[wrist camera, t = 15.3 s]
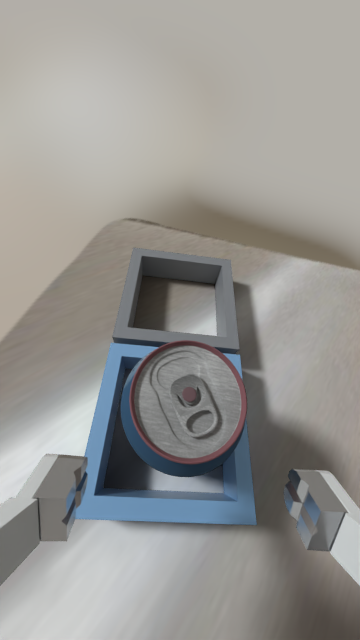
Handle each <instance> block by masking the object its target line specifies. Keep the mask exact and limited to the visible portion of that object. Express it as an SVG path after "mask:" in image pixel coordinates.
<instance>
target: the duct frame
mask: <svg viewBox="0 0 360 640" xmlns="http://www.w3.org/2000/svg"><path fill="white" fill-rule="evenodd" d="M143 275H144V276H153V277H161V278H170V279H178V280H187V281H195V282H204V283H212V284H215V298H216V321H217V336H210V335H200V334H190V333H180V332H170V331H160V330H150V329H140V328H133V324H134V319H135V313H136V308H137V303H138V297H139V292H140V286H141V281H142V276H143ZM112 337H113V340H114V343H111V345H110V349H109V354H108V358H107V362H106V366H105V371H104V375H103V379H102V383H101V388H100V392H99V396H98V400H97V405H96V409H95V413H94V417H93V422H92V426H91V430H90V434H89V439H88V443H87V447H86V452H85V456H84V457H87V458H88V465H87V468H86V470H85V471H86V473H87V474H88V479H87V486H86V490H85V494H84V497H83V500H82V503H81V505H80V506H79V507H78V508H76V519H93V520H122V521H152V522H181V523H210V524H240V525H257V523H256V513H255V503H254V492H253V482H252V472H251V462H250V452H249V442H248V431H247V421H246V419H245V426H244V430H243V433H242V436H241V439H240V441H239V443H238V445H237V447H236V448H235V450H234V451H233V453H232V454H231V455H230V456H229V458H228V459H227V460H226V461H225V462H223V486H224V493H203V492H181V491H159V490H137V489H114V488H103V486H104V481H105V475H106V470H107V465H108V459H109V454H110V448H111V443H112V438H113V432H114V427H115V421H116V416H117V411H118V405H119V400H120V394H121V389H122V384H123V378H124V373H125V368H127V369H133V368H134V367H135V366H136V364H137V363H138V362H139V361H140V360H141V359H142V358H143V357H144V356H146V355H147V354H148V353H150V352H151V351H153V350H155V349H157V348H159V347H160V346H162V345H165V344H167V343H170V342H174V341H181V340H191V341H197V342H201V343H205V344H207V345H210V346H212V347H214V348H215V349H217V350H219V351H220V352H221V353H223V354H224V355H225V356H226V357H227V358H228V359H229V360H230V361H231V362H232V363H233V365H234V366H235V368H236V369H237V371H238V372H239V374H240V376H241V378H242V370H241V360H240V355H236V353H237V351H238V350H239V340H238V330H237V319H236V309H235V299H234V289H233V279H232V268H231V260H227V259H219V258H211V257H203V256H195V255H187V254H180V253H172V252H164V251H156V250H148V249H140V248H133V251H132V256H131V260H130V264H129V268H128V273H127V277H126V281H125V285H124V290H123V294H122V298H121V302H120V307H119V311H118V315H117V319H116V324H115V328H114V332H113V336H112ZM242 381H243V380H242Z"/></svg>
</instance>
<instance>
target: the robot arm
mask: <svg viewBox="0 0 360 640" xmlns="http://www.w3.org/2000/svg"><path fill="white" fill-rule="evenodd" d="M87 465H88V458H87V457H82V456H71V455H57V454H46V455H45V456H44V457H42V459H41V460H40V462H39V463H38V465H37V466H36V468H35V469H34V471H33V472H32V474H31V475H30V477H29V478H28V480H27V481H26V483H25V484H24V486H23V487H22V489H21V490H20V492H19V493H18V495H17V496H16V498H15V497H11V498H9V499H8V500H7V501H5V502H4V503H2V504H1V505H0V586H1V585H2V583H3V582H4V581H5V580H6V579H7V578H8V577H9V576H10V575H11V574H12V573H13V572H14V570H15V569H16V568H17V567H18V566H19V565H20V564H21V563H22V562H23V561H24V560H25V559H26V558H27V556H28V555H29V554H30V553H31V552H32V551H33V550H34V549H35V548H36V547H37V546H38V545H39V543H40V541H67V539H68V537H69V534H70V532H71V529H72V526H73V524H74V521H75V519H76V508H78V507H79V506H80V505H81V503H82V500H83V497H84V494H85V490H86V486H87V479H88V474H87V473H86V471H85V470H86V468H87ZM288 477H289V479H290V481H289V482H288V483H287V484H286V485H285V488H284V500H285V503H286V507H287V509H288V511H289V513H290V515H291V516H292V517H293V518H294V519H295V520H296V521H297V526H296V528H297V530H298V532H299V534H300V536H301V538H302V541H303V543H304V545H305V547H306V549H307V550H317V551H331V552H330V554H331V555H332V556H333V557H334V558H335V559H336V560H337V561H338V562H339V563H340V565H341V566H342V567H343V568H344V569H345V570H346V571H347V572H348V573H349V575H350V576H351V577H352V578H353V579H354V580H355V581H356V582H357V583H358V584H359V586H360V509H359V508H358V507H357V505H356V504H355V503H354V501H353V500H352V499H351V498H350V496H349V495H348V494H347V492H346V491H345V490H344V489H343V487H342V486H341V485H340V483H339V482H338V481H337V479H336V478H335V477H334V476H333V474H332V473H330V472H329V471H321V470H304V469H291V470H290V471H289V474H288Z"/></svg>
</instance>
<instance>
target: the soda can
mask: <svg viewBox="0 0 360 640" xmlns="http://www.w3.org/2000/svg"><path fill="white" fill-rule="evenodd" d="M246 414H247V397H246V391H245V387H244V384H243V381H242V378H241V376H240V374H239V372H238V371H237V369H236V368H235V366H234V365H233V363H232V362H231V361H230V360H229V359H228V358H227V357H226V356H225V355H224V354H223V353H221V352H220V351H219V350H217V349H215V348H214V347H212V346H210V345H207V344H205V343H201V342H197V341H191V340H181V341H174V342H170V343H167V344H165V345H162V346H160V347H159V348H157V349H155V350H153V351H151V352H150V353H148V354H147V355H146V356H144V357H143V358H142V359H141V360H140V361H139V362H138V363H137V364H136V366H135V367H134V368H133V370H132V371H131V373H130V374H129V376H128V378H127V380H126V383H125V385H124V388H123V392H122V397H121V419H122V424H123V428H124V431H125V434H126V436H127V439H128V441H129V443H130V444H131V446H132V448H133V449H134V450H135V452H136V453H137V454H138V455H139V457H140V458H141V459H142V460H144V461H145V462H146V463H147V464H148V465H150V466H151V467H153V468H154V469H156V470H158V471H160V472H162V473H165V474H168V475H172V476H178V477H193V476H198V475H202V474H205V473H207V472H210V471H212V470H214V469H215V468H217V467H218V466H220V465H221V464H222V463H223V462H225V461H226V460H227V459H228V458H229V456H230V455H231V454H232V453H233V451H234V450H235V448H236V447H237V445H238V443H239V441H240V439H241V436H242V433H243V430H244V426H245V419H246Z"/></svg>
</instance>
